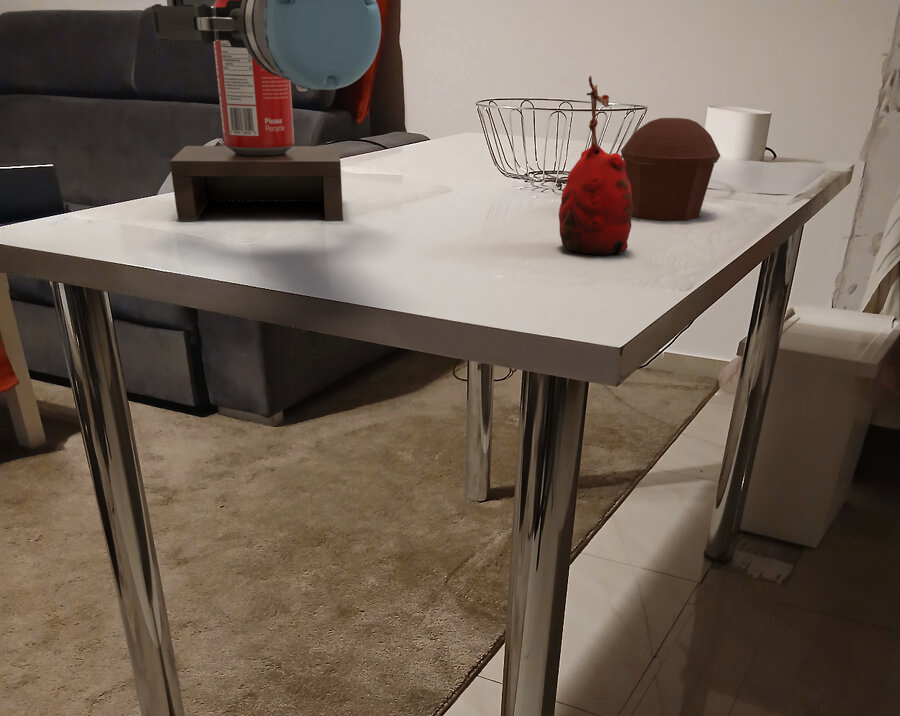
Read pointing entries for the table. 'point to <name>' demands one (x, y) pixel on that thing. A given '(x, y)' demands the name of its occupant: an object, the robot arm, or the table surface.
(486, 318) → the table surface
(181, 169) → the stand
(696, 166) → the muffin
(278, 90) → the soda can
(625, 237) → the red clay folk toy
